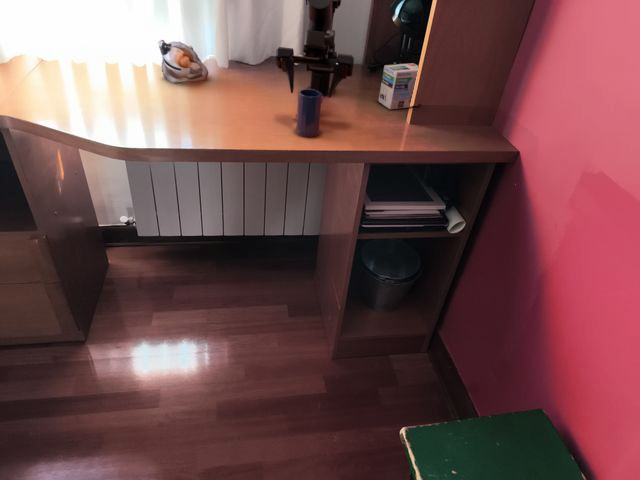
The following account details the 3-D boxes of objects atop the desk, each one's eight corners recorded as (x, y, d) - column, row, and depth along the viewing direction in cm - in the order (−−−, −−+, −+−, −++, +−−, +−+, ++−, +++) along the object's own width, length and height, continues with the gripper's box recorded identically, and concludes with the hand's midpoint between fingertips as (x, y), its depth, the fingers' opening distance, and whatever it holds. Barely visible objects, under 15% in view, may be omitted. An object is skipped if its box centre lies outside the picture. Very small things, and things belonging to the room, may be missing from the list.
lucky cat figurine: (217, 77, 141) (214, 41, 128) (193, 101, 136) (187, 66, 123) (178, 53, 142) (171, 16, 130) (152, 77, 138) (142, 40, 125)
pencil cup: (308, 126, 117) (310, 87, 111) (323, 133, 114) (326, 94, 108) (291, 131, 114) (293, 91, 108) (306, 139, 111) (309, 98, 105)
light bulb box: (390, 110, 131) (396, 72, 124) (377, 101, 135) (383, 64, 129) (419, 106, 135) (427, 69, 129) (406, 98, 140) (413, 62, 133)
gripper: (277, 10, 104) (268, 73, 102) (358, 18, 104) (350, 83, 101) (282, 38, 115) (273, 96, 113) (355, 46, 115) (348, 104, 112)
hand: (310, 94), depth 110 cm, fingers open, 9 cm apart
